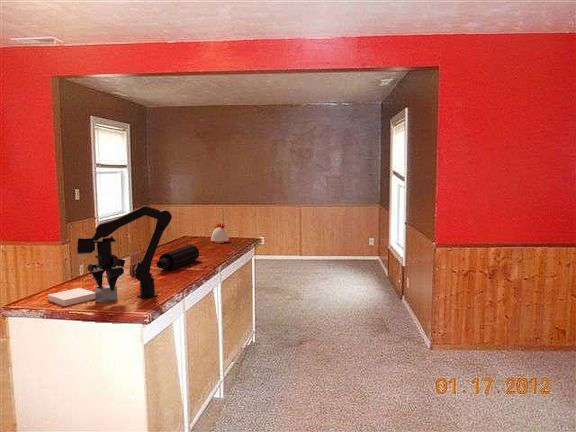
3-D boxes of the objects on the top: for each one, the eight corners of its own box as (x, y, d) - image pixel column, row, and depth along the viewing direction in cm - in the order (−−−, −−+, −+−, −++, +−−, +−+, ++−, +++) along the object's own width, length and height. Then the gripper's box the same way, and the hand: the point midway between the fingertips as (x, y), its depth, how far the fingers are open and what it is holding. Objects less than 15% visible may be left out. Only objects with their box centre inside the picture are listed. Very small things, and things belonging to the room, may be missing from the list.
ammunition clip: (140, 270, 249) (139, 249, 248) (143, 270, 249) (142, 249, 248) (129, 275, 239) (128, 252, 237) (133, 275, 238) (132, 252, 237)
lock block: (117, 299, 192) (116, 285, 192) (102, 303, 187) (101, 289, 186) (110, 297, 195) (110, 284, 195) (95, 301, 190) (95, 287, 189)
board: (96, 298, 194) (96, 292, 194) (64, 306, 183) (64, 300, 183) (80, 293, 202) (79, 287, 202) (48, 300, 191) (47, 294, 191)
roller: (169, 271, 240) (164, 253, 240) (154, 275, 243) (149, 258, 243) (202, 258, 276) (197, 242, 276) (188, 262, 279) (183, 247, 279)
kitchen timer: (225, 243, 342) (225, 224, 341) (208, 243, 345) (208, 224, 343) (231, 241, 356) (230, 222, 355) (214, 240, 359) (214, 222, 357)
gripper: (134, 252, 190) (135, 288, 191) (109, 247, 201) (111, 282, 203) (110, 256, 181) (112, 294, 183) (86, 251, 192) (87, 287, 194)
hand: (106, 288), depth 191 cm, fingers open, 9 cm apart
